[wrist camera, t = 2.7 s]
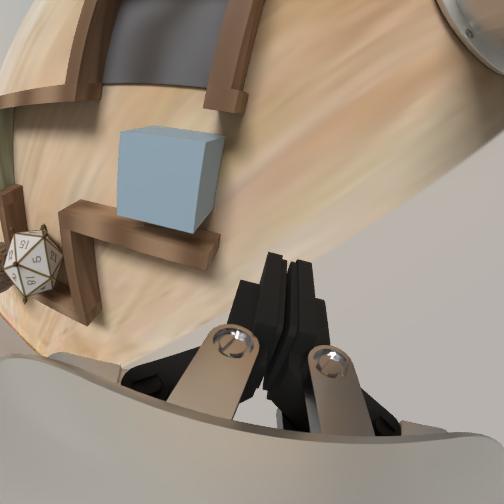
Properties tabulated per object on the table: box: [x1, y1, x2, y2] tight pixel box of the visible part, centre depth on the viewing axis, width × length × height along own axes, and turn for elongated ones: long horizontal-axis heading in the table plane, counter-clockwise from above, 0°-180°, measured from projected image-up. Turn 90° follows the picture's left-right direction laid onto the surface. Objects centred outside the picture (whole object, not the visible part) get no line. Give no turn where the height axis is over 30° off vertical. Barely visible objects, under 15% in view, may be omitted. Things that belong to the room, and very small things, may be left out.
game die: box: [0, 224, 64, 304], centre depth 24 cm, size 9×8×10 cm
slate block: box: [117, 126, 225, 234], centre depth 19 cm, size 6×6×5 cm
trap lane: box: [0, 0, 265, 326], centre depth 19 cm, size 30×38×5 cm
